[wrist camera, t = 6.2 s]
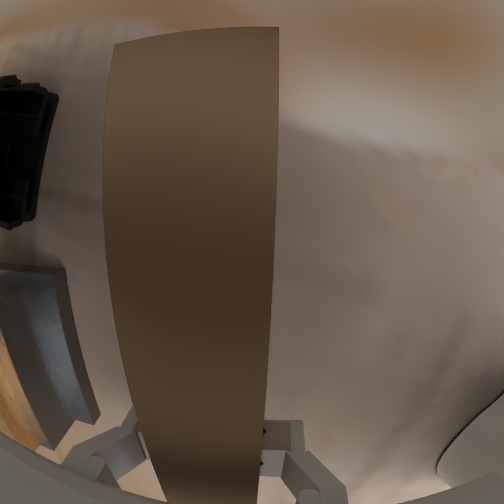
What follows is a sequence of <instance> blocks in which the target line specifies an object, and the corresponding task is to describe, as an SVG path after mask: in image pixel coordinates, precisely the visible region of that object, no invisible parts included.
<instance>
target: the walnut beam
mask: <svg viewBox="0 0 504 504" xmlns="http://www.w3.org/2000/svg"><path fill="white" fill-rule="evenodd" d="M278 100H279V27H231V28H215V29H203V30H193V31H185V32H177V33H171V34H164V35H158V36H153V37H147V38H142V39H137V40H133V41H128V42H124V43H120V44H116V45H114V50H113V56H112V62H111V69H110V76H109V84H108V92H107V102H106V113H105V127H104V147H103V211H104V231H105V246H106V257H107V268H108V277H109V285H110V293H111V300H112V307H113V313H114V320H115V325H116V331H117V337H118V342H119V347H120V352H121V357H122V361H123V366H124V370H125V375H126V379H127V383H128V387H129V391H130V395H131V398H132V402H133V406H134V409H135V413H136V416H137V420H138V423H139V426H140V429H141V433H142V436H143V439H144V442H145V445H146V448H147V451H148V454H149V456H150V459H151V462H152V465H153V467H154V470H155V473H156V475H157V478H158V480H159V483H160V485H161V488H162V490H163V492H164V495H165V497H166V500H167V502H168V503H172V504H257V494H258V483H259V472H260V461H261V449H262V437H263V424H264V411H265V398H266V384H267V369H268V353H269V337H270V320H271V302H272V282H273V261H274V238H275V213H276V184H277V149H278Z"/></svg>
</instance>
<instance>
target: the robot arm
mask: <svg viewBox="0 0 504 504" xmlns="http://www.w3.org/2000/svg"><path fill="white" fill-rule="evenodd" d="M146 459H149V460H151V459H150V456H149V454H148V451H147V448H146V445H145V442H144V439H143V436H142V433H141V429H140V426H139V423H138V420H137V416H136V413H135V409H134V406H132V408H131V410H130V411H129V413H128V415H127V416H126V418H125V420H124V421H123V423H122V425H121V426H120V427H118V426H116V427H114V428H112V429H110V430H108V431H106V432H104V433H102V434H99V435H97V436H95V437H93V438H91V439H88V440H86V441H84V442H82V443H79V444H77V445H75V446H73V447H72V449H71V450H70V452H69V453H68V455H67V456H66V458H65V459H64V461H63V462H62V463H61V465H59V464H57V463H55V462H53V461H51V460H49V459H47V458H45V457H43V456H41V455H39V454H38V453H36V452H34V451H32V450H30V449H29V448H27V447H25V446H23V445H22V444H20V443H18V442H17V441H15V440H14V439H12V438H10V437H9V436H7V435H6V434H4V433H3V432H1V431H0V504H172V503H168V502H164V501H159V500H155V499H151V498H148V497H144V496H141V495H137V494H134V493H130V492H127V491H124V490H122V489H121V488H120V486H119V484H118V483H117V481H116V480H118V479H119V478H121V477H122V476H124V475H125V474H126V473H128V472H129V471H131V470H132V469H134V468H135V467H136V466H138V465H139V464H141V463H142V462H143V461H145V460H146ZM437 475H438V476H439V477H440V478H442V479H443V480H444V481H445V482H446V483H447V484H448V485H449V486H450V487H451V489H448V490H445V491H442V492H439V493H436V494H432V495H429V496H426V497H422V498H419V499H415V500H411V501H407V502H403V503H398V504H504V393H503V394H502V396H501V397H500V398H499V399H498V400H496V401H495V402H494V403H493V404H492V405H491V406H490V407H488V408H487V409H486V410H485V411H484V412H482V413H481V414H480V415H479V416H478V417H477V418H476V419H475V420H474V421H473V422H472V423H470V424H469V425H468V426H467V427H466V428H465V429H464V430H463V432H462V433H461V434H460V435H459V436H458V437H457V438H456V439H455V440H454V441H453V443H452V444H451V445H450V446H449V448H448V449H447V450H446V452H445V453H444V454H443V456H442V458H441V459H440V461H439V463H438V466H437ZM259 476H272V477H281V479H282V480H283V481H284V483H285V484H286V486H287V487H288V488H289V490H290V491H291V493H292V494H293V495H294V497H295V498H296V499H297V500H296V503H295V504H348V498H347V492H346V486H345V485H344V484H343V483H342V482H340V481H339V480H338V479H337V478H336V477H335V476H334V475H333V474H332V473H331V472H330V471H329V470H328V469H327V468H326V467H325V466H324V465H323V464H322V463H321V462H320V461H319V460H318V459H317V458H316V457H315V456H314V455H313V454H312V453H311V452H310V451H305V439H304V427H303V421H302V420H264V424H263V437H262V449H261V461H260V472H259Z"/></svg>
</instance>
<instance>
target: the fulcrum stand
mask: <svg viewBox="0 0 504 504" xmlns="http://www.w3.org/2000/svg"><path fill="white" fill-rule="evenodd" d="M100 415H101V414H100V411H99V408H98V405H97V403H96V400H95V397H94V394H93V391H92V388H91V384H90V381H89V378H88V375H87V371H86V368H85V364H84V361H83V357H82V353H81V349H80V345H79V341H78V337H77V333H76V328H75V324H74V319H73V314H72V309H71V304H70V298H69V292H68V286H67V279H66V272H65V269H60V268H47V267H35V266H23V265H12V264H2V263H0V431H1V432H3V433H4V434H6V435H7V436H9V437H10V438H12V439H14V440H15V441H17V442H18V443H20V444H22V445H23V446H25V447H27V448H29V449H30V450H32V451H34V452H35V450H36V449H37V448H38V446H39V445H42V446H44V447H46V448H49V449H51V450H53V451H54V450H55V448H56V447H57V446H58V444H59V443H60V441H61V440H62V438H63V437H64V435H65V434H66V433H67V431H68V430H69V428H70V427H71V426H72V424H73V423H74V421H75V420H79V421H82V422H85V423H88V424H91V425H94V424H95V423H96V421H97V420H98V418H99V416H100Z"/></svg>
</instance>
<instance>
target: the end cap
mask: <svg viewBox="0 0 504 504" xmlns="http://www.w3.org/2000/svg"><path fill="white" fill-rule="evenodd" d="M20 83H21V80H19V79H17V77H16V75H9V76H2V77H0V227H2V228H5V229H7V230H12V229H13V228H14V227H18V226H20V225H21V224H22V223H23V221H25V222H27V221H32V220H33V219H34V218H35V215H36V208H37V199H38V192H39V185H40V179H41V173H42V167H43V162H44V157H45V152H46V147H47V143H48V139H49V134H50V130H51V126H52V123H53V119H54V115H55V112H56V108H57V105H58V101H59V97H58V95H57V94H55V93H52V92H48V90H47V89H46V88H43V87H40V84H39V83H23V84H20Z"/></svg>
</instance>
